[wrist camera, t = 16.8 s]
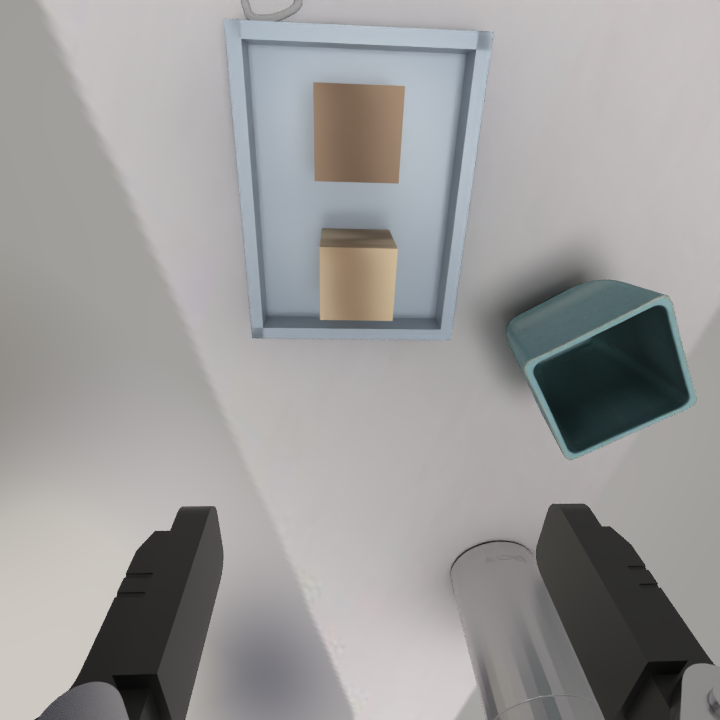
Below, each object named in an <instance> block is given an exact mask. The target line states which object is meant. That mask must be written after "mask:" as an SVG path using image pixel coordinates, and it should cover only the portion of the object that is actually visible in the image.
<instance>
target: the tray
mask: <svg viewBox="0 0 720 720" xmlns="http://www.w3.org/2000/svg"><path fill="white" fill-rule="evenodd" d="M224 27H225V38H226V49H227V61H228V72H229V83H230V94H231V105H232V116H233V128H234V139H235V150H236V161H237V172H238V184H239V195H240V206H241V217H242V228H243V239H244V251H245V262H246V273H247V284H248V295H249V307H250V318H251V329H252V338H286V339H389V340H450V339H451V332H452V325H453V318H454V311H455V304H456V297H457V290H458V282H459V275H460V268H461V261H462V254H463V247H464V240H465V232H466V225H467V218H468V211H469V204H470V197H471V190H472V183H473V175H474V168H475V161H476V154H477V147H478V140H479V133H480V126H481V118H482V111H483V104H484V97H485V90H486V83H487V76H488V68H489V61H490V54H491V47H492V40H493V33H494V32H488V31H467V30H446V29H425V28H404V27H383V26H361V25H340V24H319V23H298V22H277V21H256V20H234V19H224ZM313 82H320V83H344V84H369V85H394V86H405V97H404V112H403V126H402V141H401V156H400V171H399V184H395V183H360V182H325V181H315V169H314V100H313ZM322 228H337V229H376V230H390V233H391V235H392V237H393V239H394V241H395V243H396V246H397V248H398V255H397V269H396V282H395V296H394V309H393V321H359V320H320V248H319V247H320V240H321V233H322Z"/></svg>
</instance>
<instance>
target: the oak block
mask: <svg viewBox="0 0 720 720" xmlns="http://www.w3.org/2000/svg"><path fill="white" fill-rule="evenodd" d="M319 248H320V320H359V321H393V309H394V296H395V282H396V269H397V255H398V248H397V246H396V243H395V241H394V239H393V237H392V235H391V233H390V230H376V229H337V228H322V233H321V240H320V247H319Z"/></svg>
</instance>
